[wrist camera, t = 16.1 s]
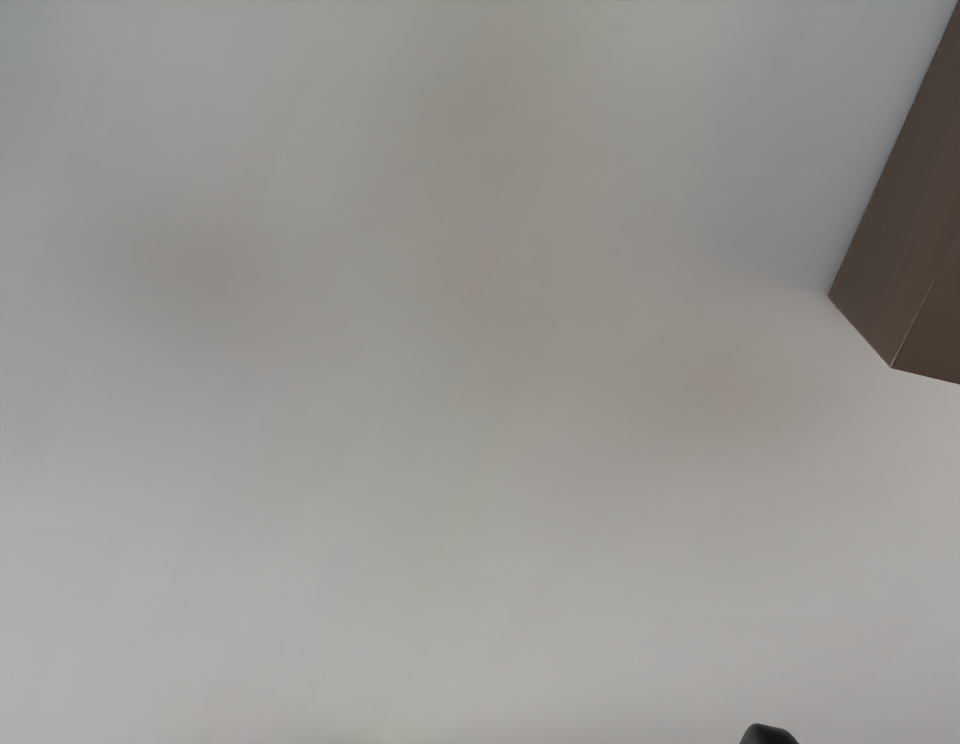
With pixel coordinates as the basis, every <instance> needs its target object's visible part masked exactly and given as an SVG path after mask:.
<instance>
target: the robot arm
mask: <svg viewBox="0 0 960 744" xmlns="http://www.w3.org/2000/svg"><path fill="white" fill-rule="evenodd" d="M739 744H799V743H798V742H797V741H796V739H795V738H794V737H793V736H792V735H791V734H790V733H789V732H788V731H786V730H784V729H781V728H777V727H772V726H767V725H763V724H758V723H757V724H752V725H751V726H749V727H748V729H747V730H746V732H745V734H744V736H743V738H742V740H741V741H740V743H739Z"/></svg>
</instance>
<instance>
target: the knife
mask: <svg viewBox="0 0 960 744" xmlns="http://www.w3.org/2000/svg"><path fill="white" fill-rule="evenodd" d="M828 298H829V299H830V300H831V301H832V302H833V303H834V304H835V306H836V307H837V308H838V309H839V310H840V311H841V312H842V314H843V315H844V316H845V317H846V318H847V319H848V320H849V321H850V323H851V324H852V325H853V326H854V327H855V328H856V329H857V331H858V332H859V333H860V334H861V335H862V336H863V337H864V338H865V340H866V341H867V342H868V343H869V344H870V345H871V346H872V348H873V349H874V350H875V351H876V352H877V353H878V354H879V355H880V357H881V358H882V359H883V360H884V361H885V362H886V363H887V365H888V366H889V367H890V368H893V369H897V370H901V371H905V372H910V373H914V374H918V375H922V376H926V377H931V378H935V379H939V380H943V381H947V382H952V383H956V384H960V1H959V3H958V5H957V8H956V10H955V12H954V14H953V17H952V19H951V21H950V23H949V26H948V28H947V30H946V32H945V35H944V37H943V39H942V41H941V44H940V46H939V48H938V50H937V53H936V55H935V57H934V59H933V62H932V64H931V66H930V68H929V71H928V73H927V75H926V77H925V80H924V82H923V84H922V86H921V89H920V91H919V93H918V95H917V97H916V100H915V102H914V104H913V106H912V109H911V111H910V113H909V115H908V118H907V120H906V122H905V124H904V127H903V129H902V131H901V133H900V136H899V138H898V140H897V142H896V145H895V147H894V149H893V151H892V154H891V156H890V158H889V160H888V163H887V165H886V167H885V169H884V172H883V174H882V176H881V178H880V181H879V183H878V185H877V187H876V190H875V192H874V194H873V196H872V199H871V201H870V203H869V205H868V208H867V210H866V212H865V214H864V216H863V219H862V221H861V223H860V225H859V228H858V230H857V232H856V234H855V237H854V239H853V241H852V243H851V246H850V248H849V250H848V252H847V255H846V257H845V259H844V261H843V264H842V266H841V268H840V270H839V273H838V275H837V277H836V279H835V282H834V284H833V286H832V288H831V291H830V293H829V295H828Z"/></svg>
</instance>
